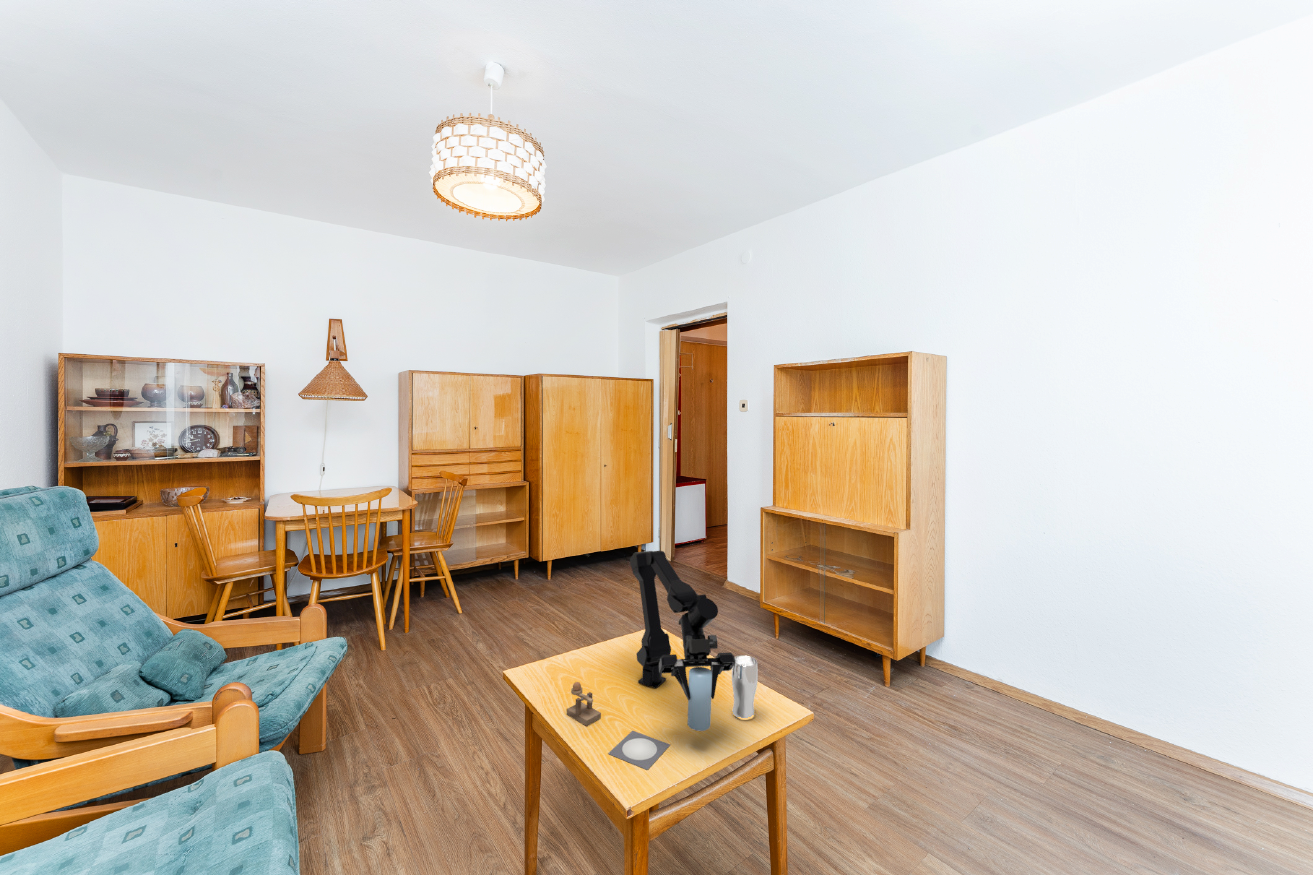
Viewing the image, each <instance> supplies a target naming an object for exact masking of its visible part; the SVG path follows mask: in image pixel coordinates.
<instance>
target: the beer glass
mask: <svg viewBox="0 0 1313 875" xmlns="http://www.w3.org/2000/svg"><path fill="white" fill-rule="evenodd" d="M734 658H735V664H734V666H733V668H732V669H731V682H732V684H731V686H732V692H733V705H732V709H731V710H732V711H731V712H733V714H734V715H735V716H736V717H741V718H748V717H751V716H752V715H754V712H755V706H754V705H755V704H754V702H755V697H756V696H755V695H756V691H757V686H758V679H759V671H758V668H759V667H758V660H757V659H756V658H755V657H753V656H750V655H736V656H734ZM733 714H732V715H733Z"/></svg>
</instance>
